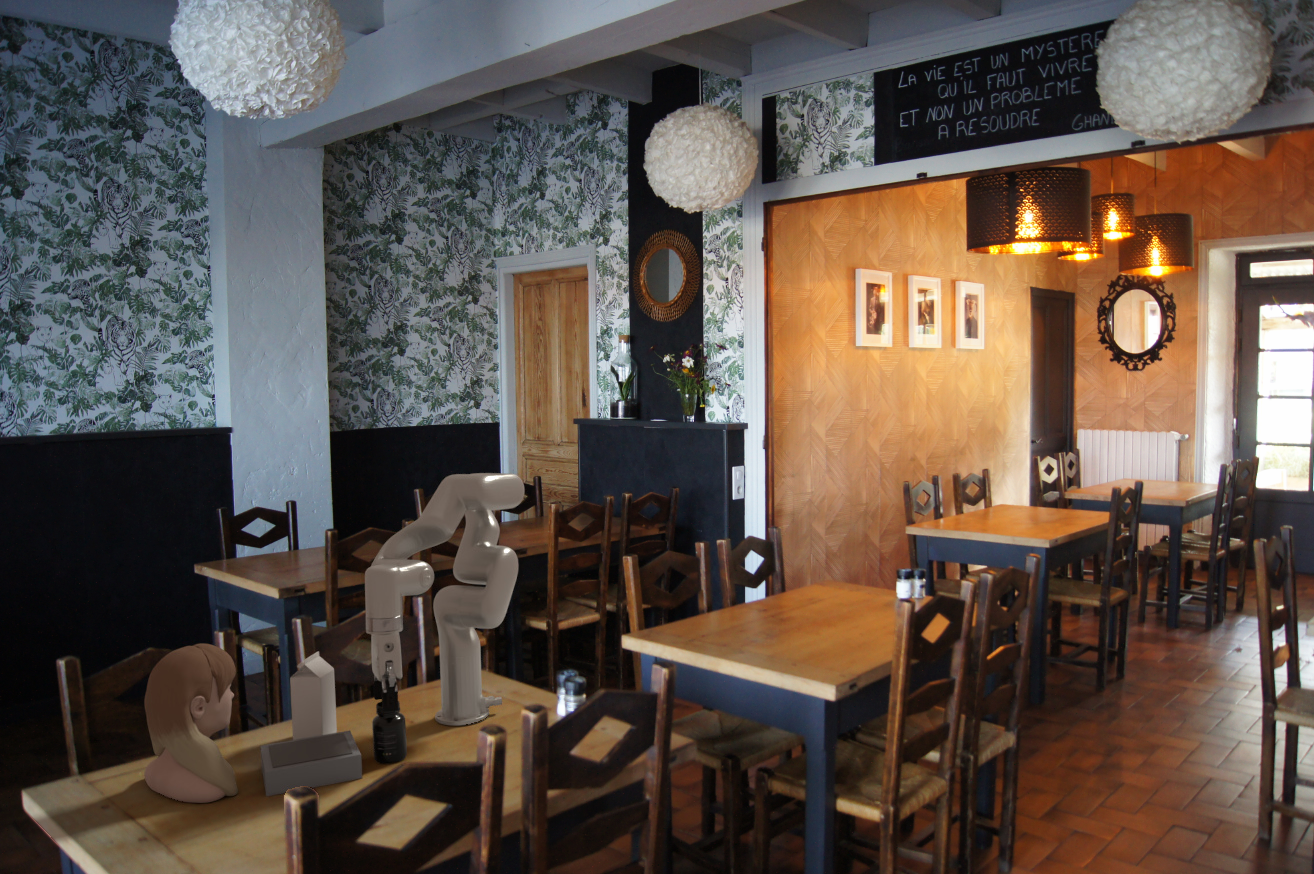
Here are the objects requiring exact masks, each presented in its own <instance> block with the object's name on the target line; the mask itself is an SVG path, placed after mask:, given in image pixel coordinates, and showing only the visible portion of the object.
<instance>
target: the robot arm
mask: <svg viewBox="0 0 1314 874" xmlns="http://www.w3.org/2000/svg"><path fill="white" fill-rule="evenodd" d="M524 497H525V485H524V482H523V480H522V478H520V476H518V475H517V474H515V473H504V472H503V473H499V472H498V473H497V472H494V473H493V472H485V473H484V472H479V473H477V472H476V473H470V474H468V473H467V474H466V473H462V474H461V473H460V474H459V473H456V474H451V475H448V476H445V478H444V479H442V480H441V482H440V484H439V485H438V487H437V489H436V490H435V491H434V494H433V495H432V496H431V499H429V501H428V503H427V504H426V506H425V508H424V509H423V511H422V513H421V515H420V516H419V518H417V519H416V520H415V521H413V522H411V523H409V524H408V525H406V526H405V527H403V528H402V529H400V530H399V531H397V532H396V533H395V534H394V535H392V536H390V538H388V539H387V540H386V542H385V543H384V544H383V545H382V546H381V548H380V549H379V551H378V553H377V554H376V556H375V558H374V560H373V562H371V566H370V567H368V568H366V570H365V572H364V591H365V592H364V595H365V597H364V599H365V600H364V601H365V633H366V634H369V635H371V637H370V639H371V640H370V641H371V643H370V644H371V645H370V647H371V652H370V654H371V668H372V669H371V670H372V673H373V675H374V676H373V677H374V680H373V698H374V700H381V701H382V711H383V712H388V711H396V710H398V701H399V691H398V684H397V683H398V682H397V679H398V680H401V679H403V665H402V664H403V663H402V662H403V661H402V646H401V638H400V632H402V631H403V630H404V624H403V623H404V622H403V621H404V619H403V618H404V617H403V616H404V615H403V613H404V612H403V597H405V596H418V595H422V594H424V593H426V592H427V591H429V589H430V588H431V587H432V585H433V583H434V581H435V573H434V569H433V567H432V566H431V565H430V564H429V563H428V562H425V561H423V560H419V559H408V558H410V557H411V556H413V555H414V554H416V553H418V552H421V551H423V550H426V549H430V548H432V547H435V546H436V547H437V546H438V545H440V544H443V543H445V542H447V541H449V540H450V539H451V538H452V537H453V535H454V533H455V532H456V530H457V528H458V527H459V524H460V523H461V521H462V520H463V517H465V529H464V532H463V535H462V537H461V540H460V544H459V547H458V550H457V553H456V556H455V559H454V561H453V562H454V563H453V568H452V572H453V576H454V578H455V579H456V580H457V581H459V582H461V583H466V584H472V585H458V584H457V585H456V584H455V585H452V584H451V585H448V586H445V587H443V588H441V589H440V590H438V592H436V595H435V597H434V599H433V603H432V604H433V607H432V608H433V615H434V617H435V622H436V626H437V632H438V643H439V645H438V646H439V667H440V668H439V670H440V671H439V673H440V674H439V676H440V695H441V696H440V697H441V699H440V700H441V709H440V710H438V711H437V712H436V713H435V721H436V722H437V723H439V724H440V725H445V726H456V727H457V726H458V727H459V726H467V725H466V724H468V725H472V724H471V723H473V724H475V723H474V722H477V723H479V722H478V721H480V720H482V719H484V718H486V717H487V716H488V715H489V716H490V710H489V709H490V707H492V706H495V707H496V706H501V705H503V698H502V696H497V697H495V696H494V695H488V696H486V697H485V695H484V694H483V689H482V687H483V685H482V660H481V659H482V658H481V656H482V655H481V641H480V638H479V635H478V633H477V631H476V630H475V629H476V628H477V629H485V630H486V629H489V630H490V629H495V628H498V627H499V626H500V625H501V624H502V622H503V621H504V619H505V617H506V614H507V613H508V608H509V606H510V602H511V599H512V596H513V593H514V592H513V591H514V588H515V585H516V582H517V580H518V579H517V577H518V574H519V558H518V555H517V554H516V552H515V550H513V549H512V548H510V547H509V546H505V545H497V544H498V541H499V537H500V533H501V532H500V531H501V530H500V529H501V528H500V525H499V522H498V520H497V519H496V517H495V515H494V513H493V511H500V510H509V509H515V508H516V507H517V506H519V505H520V504H521V503H522V501H523V499H524ZM474 585H485V586H474ZM489 716H488V717H489ZM488 717H487V718H488ZM487 718H486V719H487ZM484 720H485V719H484ZM482 721H483V720H482ZM480 722H481V721H480Z"/></svg>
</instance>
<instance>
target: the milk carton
mask: <svg viewBox="0 0 1314 874" xmlns="http://www.w3.org/2000/svg"><path fill="white" fill-rule="evenodd" d="M296 667H297V669H298V670H297V671H296V672H295V673H293V674H292V675H291V676H290V680H289V681H290V683H289V684H290V685H289V686H290V704H291V723H292V724H291V725H292V728H291V729H292V740H296V739H302V738H308V737H314V736H320V735H326V734H332V733H338V727H337V705H336V688H335V687H336V685H335V684H336V682H335V668H334V667H333V666H332V665H331V664H330V663H328V662H327V661H326V660H325V659H324V658H323V657H321V656H320V651H316V652H315V653H313V654H311V655H310V656H308V657H307V658H305V659H304V660H302V661H300V662H299V664H297V665H296Z"/></svg>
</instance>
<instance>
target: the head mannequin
mask: <svg viewBox="0 0 1314 874" xmlns="http://www.w3.org/2000/svg"><path fill="white" fill-rule="evenodd" d="M236 669H237V668H236V666H235V661H234V660H233V658H232V656H231V655H230V654H229V653H228V652H227V651H226V650H225V649H223V648H221V647H219V646H216V645H215V644H214V645H213V644H210V643H196V644H193V645H186V646H183V647H180V648H177V649H174V650H172V651H170V652H169V653H167V654H166V655H164V656H163V657H162V658H161V659H160V660H159V661H158V662H157V663H156V664H155V665H154V667H153V668H152V670H151V671H150V674H149V677H148V681H147V684H146V685H147V686H146V689H145V690H146V691H145V695H144V701H143V703H144V710H145V716H146V723H147V727H148V731H149V737H150V740H151V744H152V748H153V752H154V754H155V755H156V756H157V757H156V758H155V759H153V760H151V761H150V762H149V763H148V765H147V766H146V767H145V770H144V775H143V776H144V780H145V782H146V784H147V786H148V787H149V789H151V790H152V791H154V792H155V793H157V794H159V793H160V794H159V795H161V794H162V795H161V796H163V795H164V797H166V798H169V799H171V798H172V800H174V799H175V800H174V801H177V800H178V802H182V801H183V802H184V803H192V804H195V803H196V804H204V803H205V804H206V803H207V804H208V803H211V802H215V801H218V800H220V799H222V798H224V797H233V796H236V795H237V794H238V792H239V790H238V789H239V788H238V786H237V782H236V776H235V775H236V774H235V771H234V768H233V766H232V765H231V764H230V763H229V762H228V761H227V760H226V759H225V757H224V756H223V754H222V752H221V750H220V748H219V746H218V744H217V743H216V742H215V741H214V740H213V739H211V738H210V737H212V736H213V735H214V734H215V733H216V732H219V731H222V730H225V729H226V728H227V727H228V726H230V722H231V715H232V704H233V702H232V700H233V698H234V697H235V694H234V693H233V692H232V690H231V688H232V687H233V685H234V684H233V680H234V679H235V677H236V674H237V670H236Z"/></svg>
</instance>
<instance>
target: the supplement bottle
mask: <svg viewBox="0 0 1314 874" xmlns="http://www.w3.org/2000/svg"><path fill="white" fill-rule="evenodd" d="M375 708H376V709H375V712H376V716H374V717H373V719H372V721H371V723H372V725H371V727H372V728H371V729H372V744H373V760H374V761H375V762H376V763H377V764H382V765H390V764H395V763H398V762H402V761H403V760H404V759H406V757H407V755H408V747H407V745H408V744H407V726H406V717H405V715H404V714H403V713H402V712H401V705H400V701H399V700H398V710H396V711H388V712H383V711H382V700H381V701H379V702H377V703H376V707H375Z"/></svg>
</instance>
